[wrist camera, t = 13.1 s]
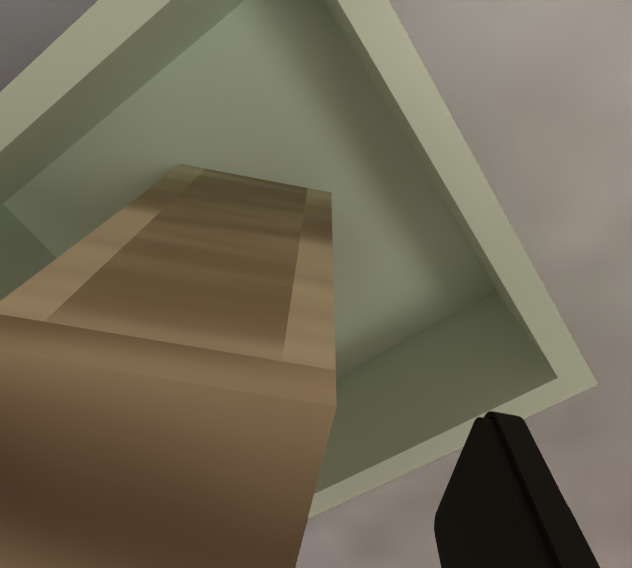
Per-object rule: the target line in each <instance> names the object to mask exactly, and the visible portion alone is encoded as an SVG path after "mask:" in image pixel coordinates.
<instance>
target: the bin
mask: <svg viewBox="0 0 632 568" xmlns="http://www.w3.org/2000/svg"><path fill="white" fill-rule="evenodd" d="M181 164H183V165H189V166H194V167H199V168H204V169H210V170H215V171H220V172H226V173H231V174H236V175H241V176H247V177H252V178H257V179H263V180H268V181H273V182H278V183H284V184H289V185H294V186H300V187H305V188H310V189H315V190H321V191H326V192H331V201H332V241H333V281H334V320H335V360H336V400H337V407H336V411H335V415H334V419H333V422H332V426H331V430H330V434H329V438H328V442H327V446H326V450H325V453H324V457H323V461H322V465H321V469H320V473H319V477H318V480H317V484H316V488H315V492H314V496H313V500H312V504H311V507H310V511H309V515H308V519H309V518H311V517H313V516H316V515H318V514H320V513H322V512H324V511H326V510H329V509H331V508H333V507H335V506H337V505H339V504H342V503H344V502H346V501H348V500H350V499H352V498H354V497H357V496H359V495H361V494H363V493H365V492H367V491H370V490H372V489H374V488H376V487H378V486H380V485H383V484H385V483H387V482H389V481H391V480H393V479H396V478H398V477H400V476H402V475H404V474H406V473H409V472H411V471H413V470H415V469H417V468H419V467H421V466H424V465H426V464H428V463H430V462H432V461H434V460H437V459H439V458H441V457H443V456H445V455H447V454H450V453H452V452H454V451H456V450H458V449H460V448H463V447H464V445H465V442H466V440H467V437H468V435H469V433H470V430H471V428H472V425H473V423H474V421H475V419H476V418H477V417H483V418H484V416H485V414H486V413H487V412H489V411H494V412H499V413H505V414H511V415H516V416H520V417H522V418H523V419H525V418H527V417H530V416H532V415H534V414H536V413H538V412H540V411H543V410H545V409H547V408H549V407H551V406H553V405H555V404H558V403H560V402H562V401H564V400H566V399H568V398H571V397H573V396H575V395H577V394H579V393H581V392H584V391H586V390H588V389H590V388H592V387H594V386H597V385H598V383H597V381H596V379H595V377H594V376H593V374H592V372H591V370H590V368H589V366H588V365H587V363H586V361H585V359H584V357H583V355H582V354H581V352H580V350H579V348H578V346H577V344H576V343H575V341H574V339H573V337H572V335H571V333H570V332H569V330H568V328H567V326H566V324H565V322H564V321H563V319H562V317H561V315H560V313H559V311H558V310H557V308H556V306H555V304H554V302H553V300H552V299H551V297H550V295H549V293H548V291H547V289H546V288H545V286H544V284H543V282H542V280H541V278H540V277H539V275H538V273H537V271H536V269H535V267H534V266H533V264H532V262H531V260H530V258H529V256H528V255H527V253H526V251H525V249H524V247H523V245H522V244H521V242H520V240H519V238H518V236H517V234H516V233H515V231H514V229H513V227H512V225H511V223H510V222H509V220H508V218H507V216H506V214H505V212H504V210H503V209H502V207H501V205H500V203H499V201H498V199H497V198H496V196H495V194H494V192H493V190H492V188H491V187H490V185H489V183H488V181H487V179H486V177H485V176H484V174H483V172H482V170H481V168H480V166H479V165H478V163H477V161H476V159H475V157H474V155H473V154H472V152H471V150H470V148H469V146H468V144H467V143H466V141H465V139H464V137H463V135H462V133H461V132H460V130H459V128H458V126H457V124H456V122H455V121H454V119H453V117H452V115H451V113H450V111H449V110H448V108H447V106H446V104H445V102H444V100H443V99H442V97H441V95H440V93H439V91H438V89H437V88H436V86H435V84H434V82H433V80H432V78H431V77H430V75H429V73H428V71H427V69H426V67H425V66H424V64H423V62H422V60H421V58H420V56H419V55H418V53H417V51H416V49H415V47H414V45H413V44H412V42H411V40H410V38H409V36H408V34H407V33H406V31H405V29H404V27H403V25H402V23H401V22H400V20H399V18H398V16H397V14H396V12H395V11H394V9H393V7H392V5H391V3H390V1H389V0H98V1H97V2H96V3H95V4H94V5H93V6H92V7H90V8H89V9H88V10H87V11H86V12H85V13H84V14H83V15H82V16H81V17H80V18H79V19H78V20H77V21H76V22H74V23H73V24H72V25H71V26H70V27H69V28H68V29H67V30H66V31H65V32H64V33H63V34H62V35H61V36H60V37H58V38H57V39H56V40H55V41H54V42H53V43H52V44H51V45H50V46H49V47H48V48H47V49H46V50H45V51H44V52H42V53H41V54H40V55H39V56H38V57H37V58H36V59H35V60H34V61H33V62H32V63H31V64H30V65H29V66H28V67H27V68H25V69H24V70H23V71H22V72H21V73H20V74H19V75H18V76H17V77H16V78H15V79H14V80H13V81H12V82H11V83H9V84H8V85H7V86H6V87H5V88H4V89H3V90H2V91H1V92H0V301H1V300H2V299H4V298H5V297H6V296H8V295H9V294H10V293H12V292H13V291H14V290H16V289H17V288H18V287H20V286H21V285H22V284H23V283H25V282H26V281H27V280H29V279H30V278H31V277H33V276H34V275H35V274H37V273H38V272H39V271H41V270H42V269H43V268H45V267H46V266H47V265H49V264H50V263H51V262H53V261H54V260H55V259H57V258H58V257H59V256H61V255H62V254H63V253H64V252H66V251H67V250H68V249H70V248H71V247H72V246H74V245H75V244H76V243H78V242H79V241H80V240H82V239H83V238H84V237H86V236H87V235H88V234H90V233H91V232H92V231H94V230H95V229H96V228H98V227H99V226H100V225H102V224H103V223H104V222H105V221H107V220H108V219H109V218H111V217H112V216H113V215H115V214H116V213H117V212H119V211H120V210H121V209H123V208H124V207H125V206H127V205H128V204H129V203H131V202H132V201H133V200H135V199H136V198H137V197H139V196H140V195H141V194H143V193H144V192H145V191H146V190H148V189H149V188H150V187H152V186H153V185H154V184H156V183H157V182H158V181H160V180H161V179H162V178H164V177H165V176H166V175H168V174H169V173H170V172H172V171H173V170H174V169H176V168H177V167H178V166H180V165H181Z"/></svg>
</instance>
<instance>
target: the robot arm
mask: <svg viewBox="0 0 632 568" xmlns="http://www.w3.org/2000/svg"><path fill="white" fill-rule="evenodd" d="M434 531H435V538H436V543H437V548H438V553H439V558H440V563H441V568H600V567H599V565H598V563H597V561H596V559H595V557H594V555H593V553H592V551H591V549H590V547H589V545H588V543H587V541H586V539H585V537H584V535H583V533H582V531H581V529H580V528H579V526H578V524H577V522H576V520H575V518H574V516H573V514H572V512H571V510H570V508H569V507H568V505H567V504H566V502H565V500H564V498H563V496H562V494H561V492H560V490H559V488H558V486H557V484H556V482H555V480H554V478H553V476H552V474H551V472H550V470H549V468H548V466H547V464H546V462H545V460H544V459H543V457H542V455H541V453H540V451H539V449H538V447H537V445H536V443H535V441H534V439H533V437H532V435H531V433H530V431H529V429H528V427H527V425H526V423H525V421H524V420H523V418H522V417H520V416H516V415H511V414H505V413H499V412H494V411H489V412H487V413H486V414H485V416H484V418H483V417H477V418H476V419H475V421H474V423H473V425H472V428H471V430H470V433H469V435H468V437H467V440H466V442H465V445H464V447H463V449H462V452H461V454H460V457H459V459H458V461H457V464H456V466H455V469H454V471H453V474H452V476H451V478H450V481H449V483H448V486H447V488H446V490H445V493H444V495H443V498H442V500H441V502H440V505H439V507H438V510H437V512H436V515H435V522H434Z"/></svg>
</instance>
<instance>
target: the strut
mask: <svg viewBox="0 0 632 568" xmlns="http://www.w3.org/2000/svg"><path fill="white" fill-rule="evenodd" d="M336 407H337V400H336V360H335V320H334V281H333V241H332V201H331V192H326V191H321V190H315V189H310V188H305V187H300V186H294V185H289V184H284V183H278V182H273V181H268V180H263V179H257V178H252V177H247V176H241V175H236V174H231V173H226V172H220V171H215V170H210V169H204V168H199V167H194V166H189V165H183V164H181V165H180V166H178V167H177V168H176V169H174V170H173V171H172V172H170V173H169V174H168V175H166V176H165V177H164V178H162V179H161V180H160V181H158V182H157V183H156V184H154V185H153V186H152V187H150V188H149V189H148V190H146V191H145V192H144V193H143V194H141V195H140V196H139V197H137V198H136V199H135V200H133V201H132V202H131V203H129V204H128V205H127V206H125V207H124V208H123V209H121V210H120V211H119V212H117V213H116V214H115V215H113V216H112V217H111V218H109V219H108V220H107V221H105V222H104V223H103V224H102V225H100V226H99V227H98V228H96V229H95V230H94V231H92V232H91V233H90V234H88V235H87V236H86V237H84V238H83V239H82V240H80V241H79V242H78V243H76V244H75V245H74V246H72V247H71V248H70V249H68V250H67V251H66V252H64V253H63V254H62V255H61V256H59V257H58V258H57V259H55V260H54V261H53V262H51V263H50V264H49V265H47V266H46V267H45V268H43V269H42V270H41V271H39V272H38V273H37V274H35V275H34V276H33V277H31V278H30V279H29V280H27V281H26V282H25V283H23V284H22V285H21V286H20V287H18V288H17V289H16V290H14V291H13V292H12V293H10V294H9V295H8V296H6V297H5V298H4V299H2V300H1V301H0V568H295V565H296V562H297V558H298V554H299V550H300V546H301V542H302V538H303V534H304V531H305V527H306V523H307V519H308V515H309V511H310V507H311V504H312V500H313V496H314V492H315V488H316V484H317V480H318V477H319V473H320V469H321V465H322V461H323V457H324V453H325V450H326V446H327V442H328V438H329V434H330V430H331V426H332V422H333V419H334V415H335V411H336Z"/></svg>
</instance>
